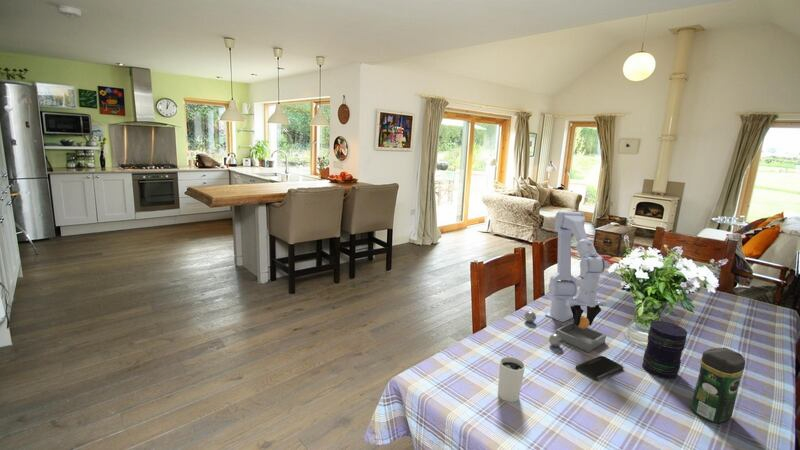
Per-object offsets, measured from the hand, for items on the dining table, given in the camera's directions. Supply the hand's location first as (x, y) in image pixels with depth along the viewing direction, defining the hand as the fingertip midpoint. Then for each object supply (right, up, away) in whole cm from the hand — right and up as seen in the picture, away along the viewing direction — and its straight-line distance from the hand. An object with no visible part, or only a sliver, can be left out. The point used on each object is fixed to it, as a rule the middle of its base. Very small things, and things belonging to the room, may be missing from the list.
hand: (582, 324), depth 142 cm
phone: (-2, -11, -16) cm, 20 cm away
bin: (0, -6, +1) cm, 6 cm away
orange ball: (0, +1, 0) cm, 1 cm away
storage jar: (+18, -11, -15) cm, 26 cm away
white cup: (-36, -12, -32) cm, 50 cm away
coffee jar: (+18, -16, -35) cm, 42 cm away
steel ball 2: (-11, -5, -4) cm, 13 cm away
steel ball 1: (-15, 0, +13) cm, 20 cm away
